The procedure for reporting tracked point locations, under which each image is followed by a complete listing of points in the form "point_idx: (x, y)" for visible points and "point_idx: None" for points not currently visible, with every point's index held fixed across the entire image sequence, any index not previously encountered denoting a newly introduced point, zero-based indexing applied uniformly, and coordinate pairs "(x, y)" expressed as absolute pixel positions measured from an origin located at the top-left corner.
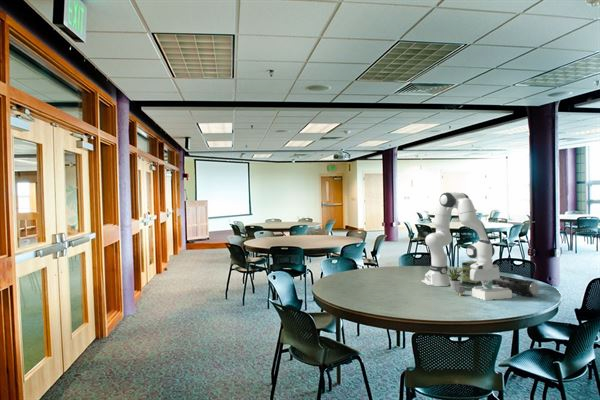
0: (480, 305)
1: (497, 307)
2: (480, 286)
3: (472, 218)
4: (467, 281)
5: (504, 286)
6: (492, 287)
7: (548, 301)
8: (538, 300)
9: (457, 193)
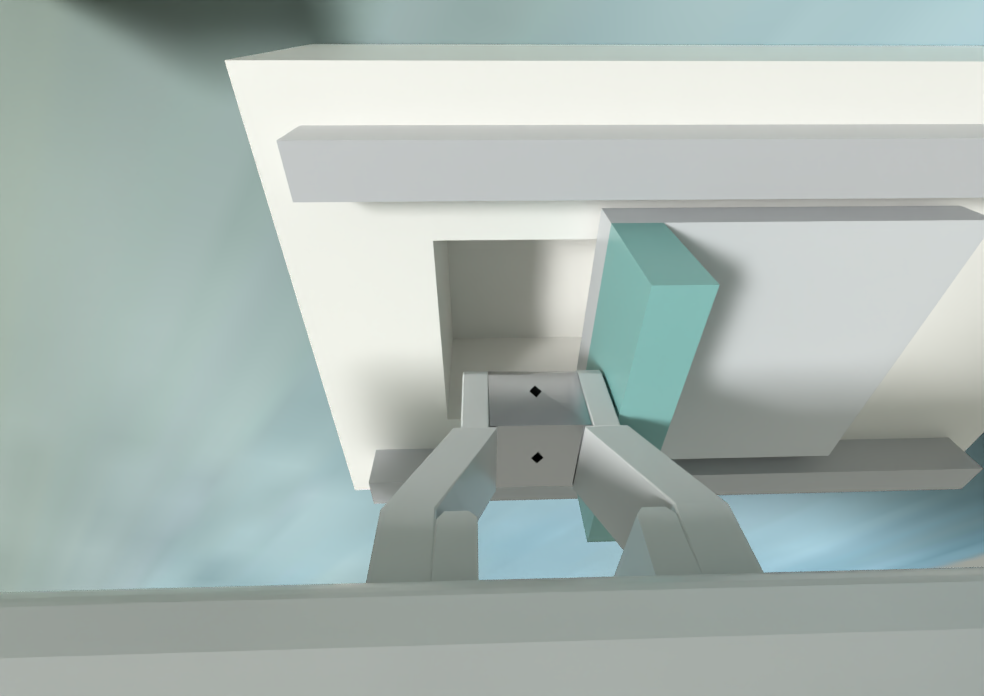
0: (209, 511)
1: (352, 567)
2: (532, 185)
3: None
4: None
5: None
6: (767, 356)
7: (970, 535)
8: (948, 503)
9: None
